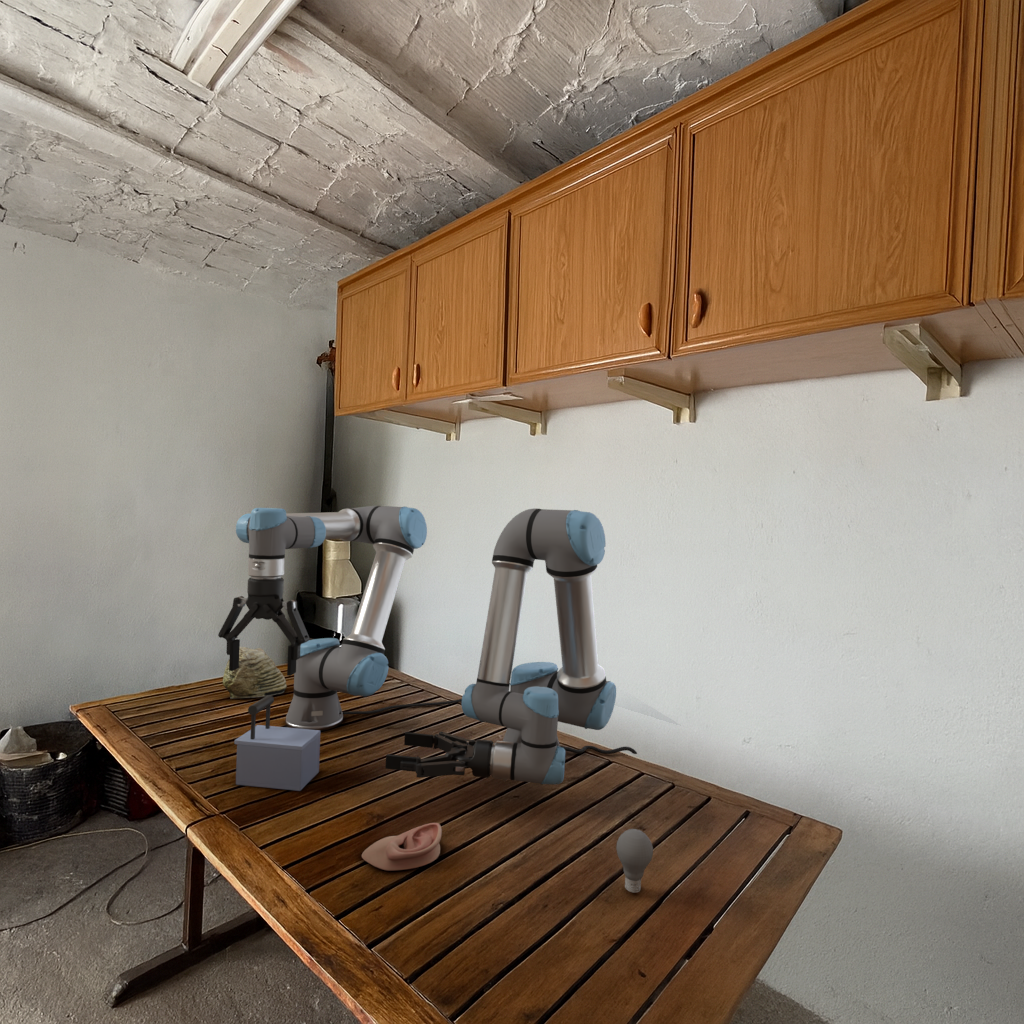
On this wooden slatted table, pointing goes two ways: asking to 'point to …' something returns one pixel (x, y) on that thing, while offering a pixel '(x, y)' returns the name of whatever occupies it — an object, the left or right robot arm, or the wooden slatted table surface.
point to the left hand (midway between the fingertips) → (262, 671)
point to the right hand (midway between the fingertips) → (395, 749)
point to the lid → (274, 731)
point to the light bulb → (634, 857)
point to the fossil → (254, 675)
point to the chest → (277, 766)
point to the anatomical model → (406, 849)
